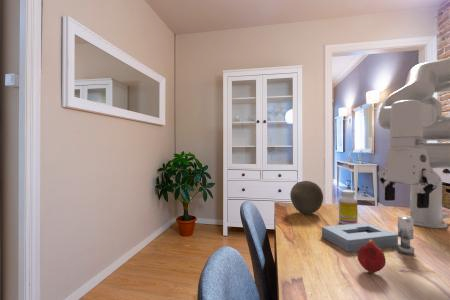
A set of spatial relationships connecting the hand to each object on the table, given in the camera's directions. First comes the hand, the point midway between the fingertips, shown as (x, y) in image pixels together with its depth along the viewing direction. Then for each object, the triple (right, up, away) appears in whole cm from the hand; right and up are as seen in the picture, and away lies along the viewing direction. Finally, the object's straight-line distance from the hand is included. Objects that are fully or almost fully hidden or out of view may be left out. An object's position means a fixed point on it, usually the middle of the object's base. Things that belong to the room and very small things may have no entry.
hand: (405, 203), depth 68 cm
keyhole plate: (-9, -14, +9) cm, 19 cm away
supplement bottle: (-3, -14, +27) cm, 30 cm away
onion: (-16, -15, -11) cm, 24 cm away
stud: (+1, -14, +1) cm, 14 cm away
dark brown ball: (-15, -14, +39) cm, 44 cm away
